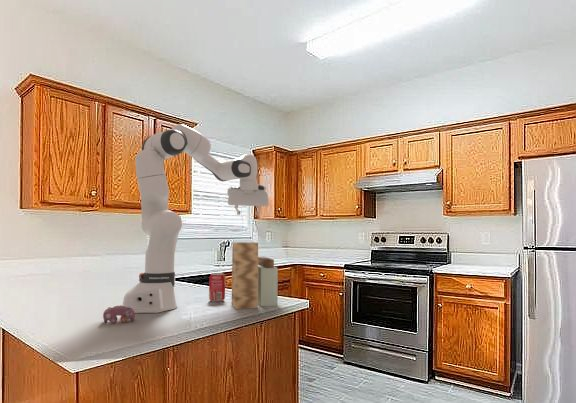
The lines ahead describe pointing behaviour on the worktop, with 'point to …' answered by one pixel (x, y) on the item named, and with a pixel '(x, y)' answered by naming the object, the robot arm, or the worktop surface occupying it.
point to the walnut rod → (266, 262)
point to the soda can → (217, 287)
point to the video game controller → (118, 310)
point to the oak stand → (245, 275)
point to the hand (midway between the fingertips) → (248, 214)
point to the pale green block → (267, 286)
